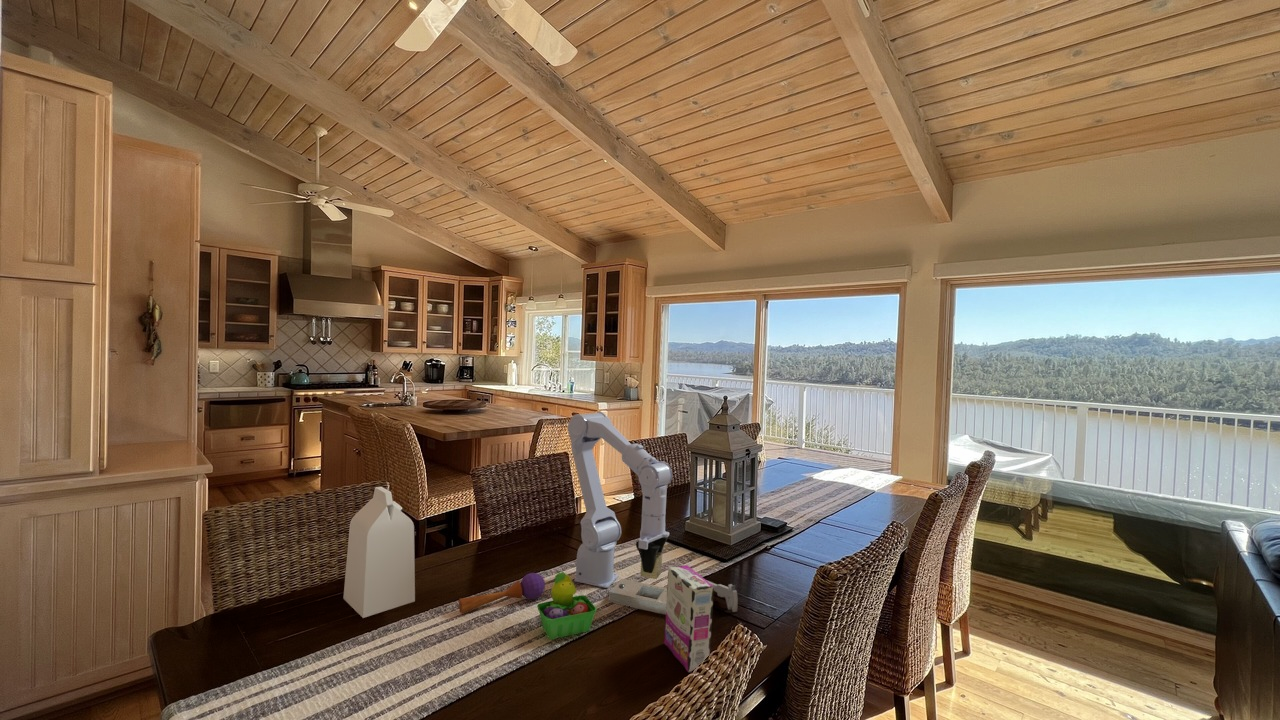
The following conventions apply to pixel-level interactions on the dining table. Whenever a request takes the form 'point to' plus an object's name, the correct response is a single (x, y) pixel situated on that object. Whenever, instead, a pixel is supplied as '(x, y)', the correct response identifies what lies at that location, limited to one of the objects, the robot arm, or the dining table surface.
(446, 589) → the dining table surface
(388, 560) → the milk
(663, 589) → the white slotted plate
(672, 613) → the candy bar box
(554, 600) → the fruit basket
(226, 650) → the dining table surface
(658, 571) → the block
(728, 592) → the caliper
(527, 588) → the purple maraca
